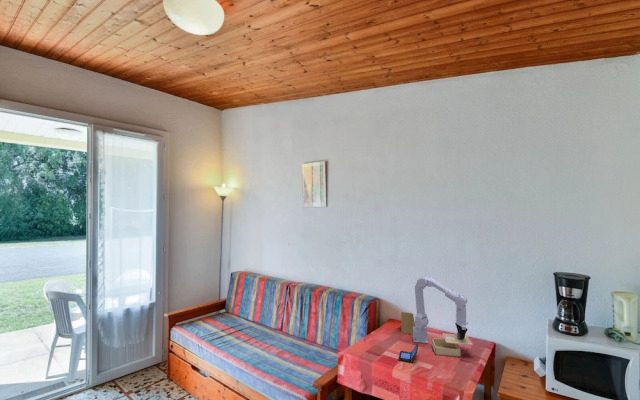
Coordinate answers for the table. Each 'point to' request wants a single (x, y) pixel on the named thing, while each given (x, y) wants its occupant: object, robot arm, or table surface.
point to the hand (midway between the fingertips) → (461, 337)
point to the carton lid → (456, 339)
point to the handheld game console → (408, 355)
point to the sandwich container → (407, 322)
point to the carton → (445, 348)
